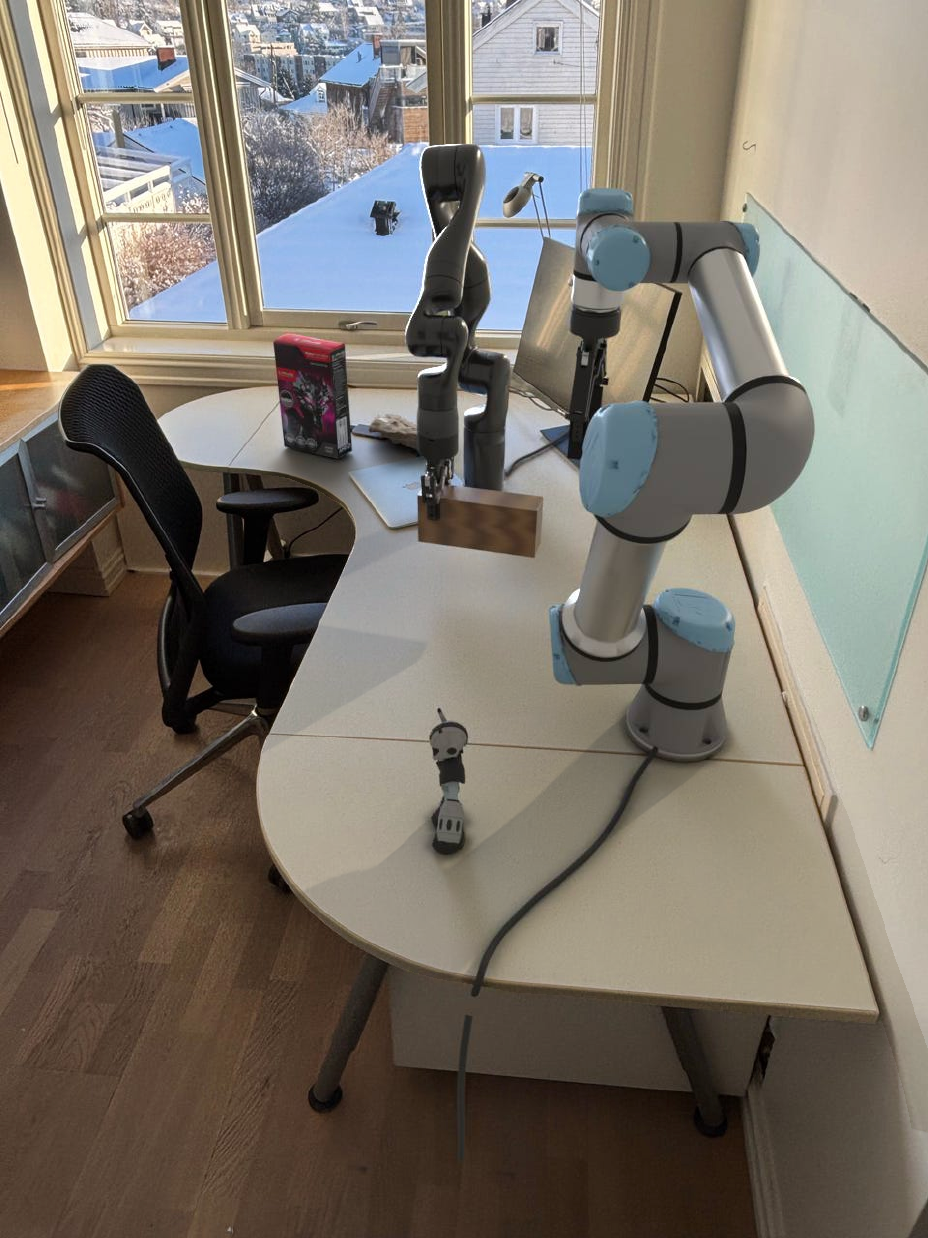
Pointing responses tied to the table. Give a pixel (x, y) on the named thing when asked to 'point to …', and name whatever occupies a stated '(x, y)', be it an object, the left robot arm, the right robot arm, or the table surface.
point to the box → (484, 521)
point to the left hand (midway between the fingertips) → (438, 511)
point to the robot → (449, 784)
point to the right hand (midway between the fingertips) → (584, 441)
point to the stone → (395, 429)
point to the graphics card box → (313, 395)
